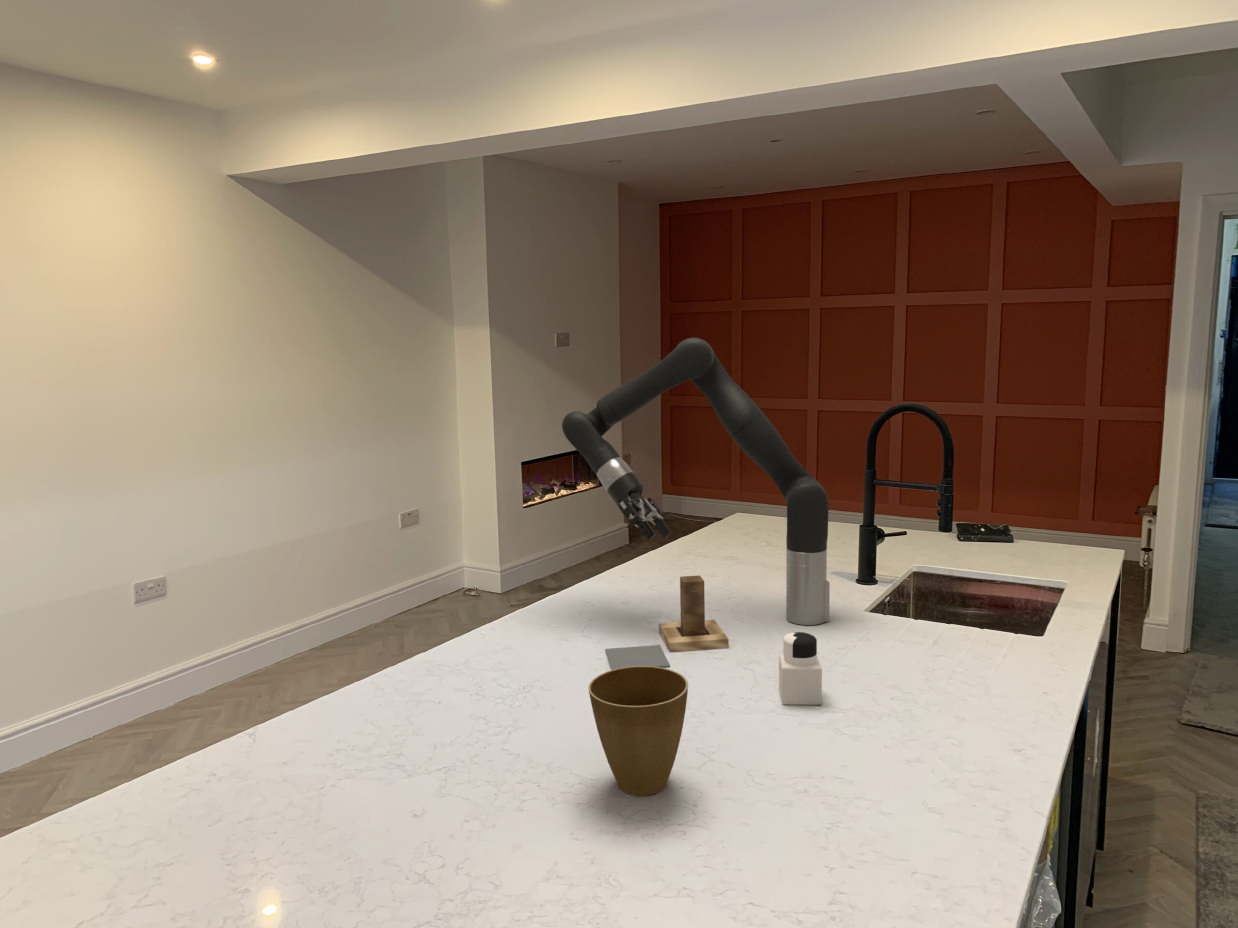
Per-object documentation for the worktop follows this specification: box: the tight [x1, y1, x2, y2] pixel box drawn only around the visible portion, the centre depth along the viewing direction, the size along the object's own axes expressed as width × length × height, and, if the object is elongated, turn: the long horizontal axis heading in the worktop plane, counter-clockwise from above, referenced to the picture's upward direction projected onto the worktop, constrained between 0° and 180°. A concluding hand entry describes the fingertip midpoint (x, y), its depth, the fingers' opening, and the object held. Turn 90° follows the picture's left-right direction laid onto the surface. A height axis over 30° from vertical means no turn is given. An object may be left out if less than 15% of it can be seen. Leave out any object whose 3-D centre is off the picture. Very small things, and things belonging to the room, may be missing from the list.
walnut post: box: [679, 575, 706, 637], centre depth 192 cm, size 4×4×14 cm
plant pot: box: [588, 666, 689, 797], centre depth 130 cm, size 15×15×16 cm
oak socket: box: [658, 619, 730, 653], centre depth 193 cm, size 13×13×2 cm
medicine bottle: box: [778, 631, 823, 706], centre depth 160 cm, size 7×7×12 cm
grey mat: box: [604, 644, 671, 670], centre depth 182 cm, size 12×12×1 cm
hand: (660, 536), depth 196 cm, fingers open, 8 cm apart
